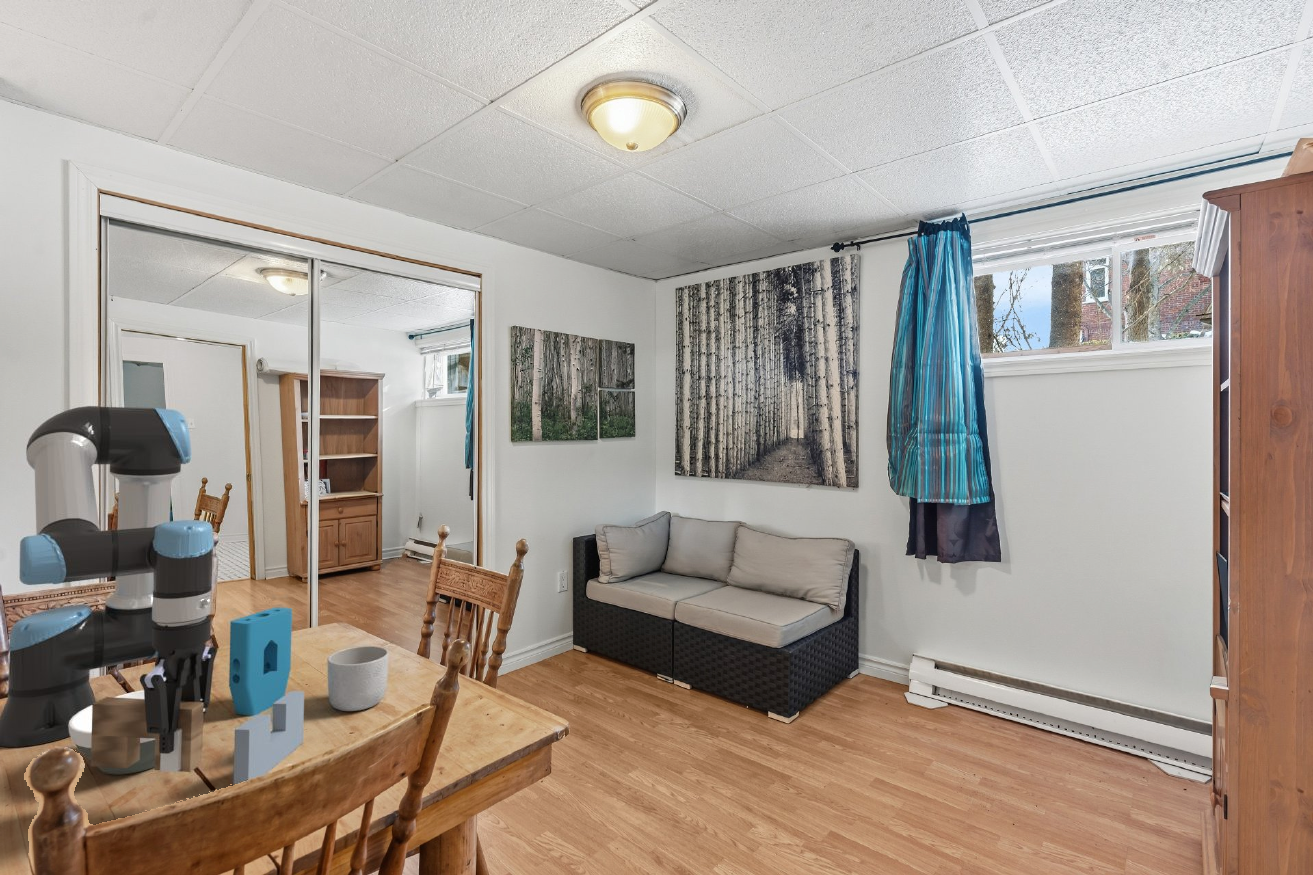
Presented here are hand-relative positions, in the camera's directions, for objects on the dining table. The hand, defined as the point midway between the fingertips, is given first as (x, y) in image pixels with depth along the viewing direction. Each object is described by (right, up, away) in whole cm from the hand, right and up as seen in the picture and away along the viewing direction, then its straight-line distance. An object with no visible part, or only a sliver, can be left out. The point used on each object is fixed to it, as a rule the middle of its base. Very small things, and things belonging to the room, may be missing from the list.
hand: (178, 764), depth 101 cm
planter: (+10, -7, +39) cm, 41 cm away
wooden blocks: (-5, 0, 0) cm, 5 cm away
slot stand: (+7, -7, +13) cm, 17 cm away
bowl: (-17, -7, +14) cm, 23 cm away
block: (-10, -7, +37) cm, 39 cm away
